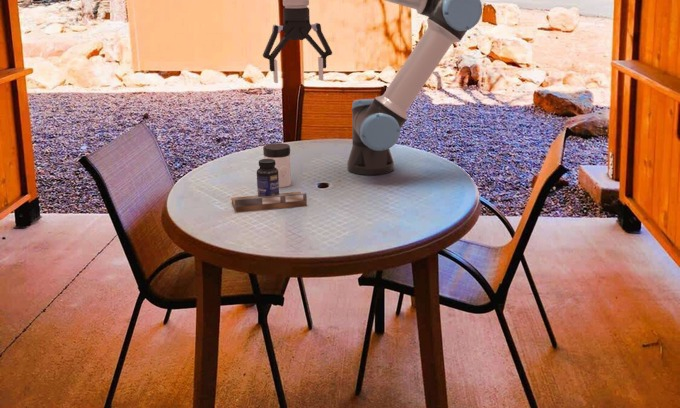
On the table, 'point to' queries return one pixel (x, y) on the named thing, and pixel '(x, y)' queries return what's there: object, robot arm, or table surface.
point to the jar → (280, 161)
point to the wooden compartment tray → (269, 201)
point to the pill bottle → (267, 178)
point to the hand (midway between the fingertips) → (298, 81)
